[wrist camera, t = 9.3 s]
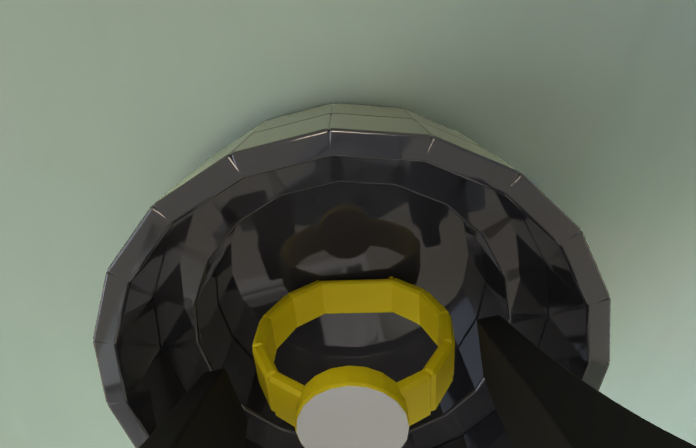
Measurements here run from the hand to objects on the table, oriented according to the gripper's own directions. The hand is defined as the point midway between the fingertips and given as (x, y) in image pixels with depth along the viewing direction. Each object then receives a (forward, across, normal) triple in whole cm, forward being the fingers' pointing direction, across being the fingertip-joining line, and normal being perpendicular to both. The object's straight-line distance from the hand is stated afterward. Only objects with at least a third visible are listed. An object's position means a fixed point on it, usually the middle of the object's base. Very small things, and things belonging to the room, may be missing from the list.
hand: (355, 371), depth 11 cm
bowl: (+5, 0, 0) cm, 5 cm away
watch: (+4, 0, 0) cm, 4 cm away
